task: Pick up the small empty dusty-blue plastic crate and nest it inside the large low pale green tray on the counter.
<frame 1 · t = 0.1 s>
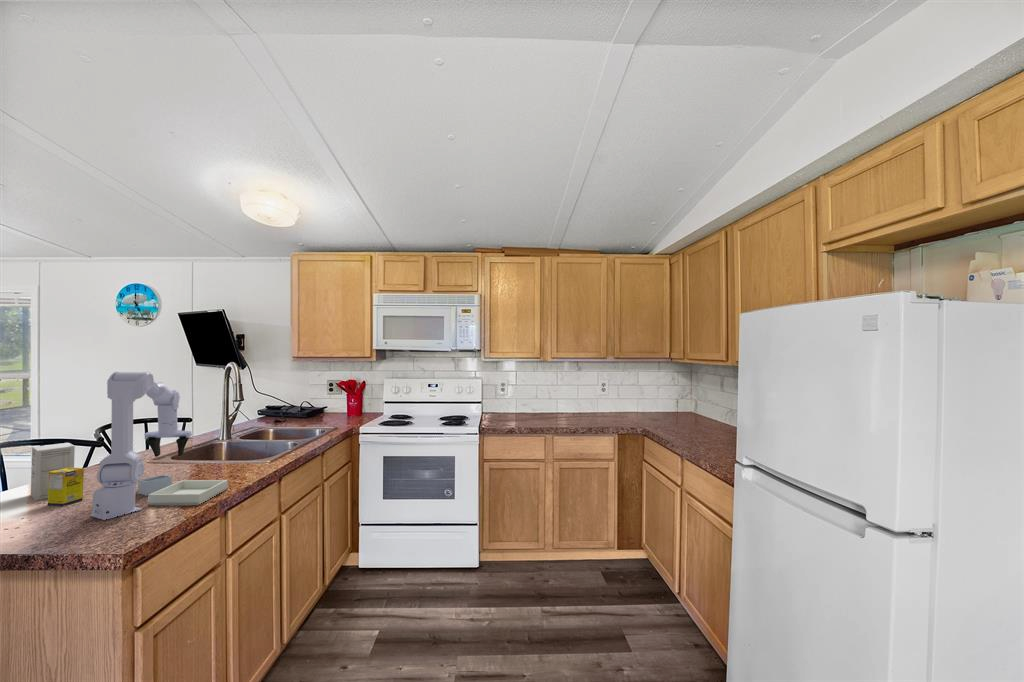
hand: (169, 455, 164), 10 cm above the counter, tool pointing down, fingers open, 7 cm apart
pale green tray: (189, 497, 149), on the counter
small crate: (154, 492, 154), on the counter
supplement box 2: (51, 494, 150), on the counter
supplement box: (65, 503, 142), on the counter
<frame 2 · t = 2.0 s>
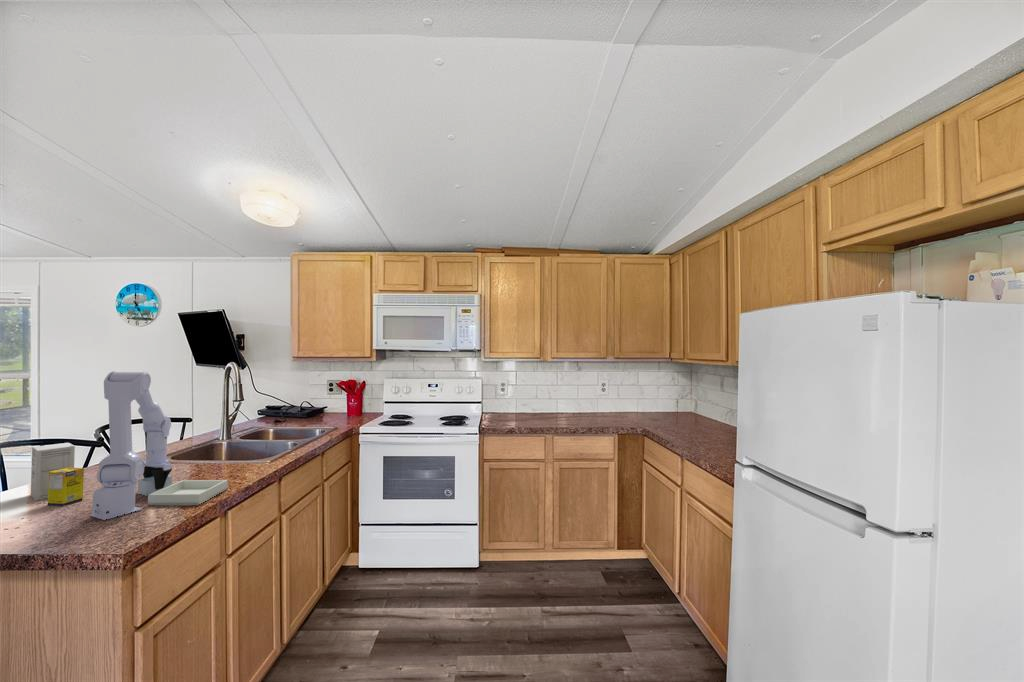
hand: (155, 487, 154), 1 cm above the counter, tool pointing down, fingers closed on small crate, 5 cm apart
small crate: (154, 491, 154), on the counter, touching gripper
everything else where it was.
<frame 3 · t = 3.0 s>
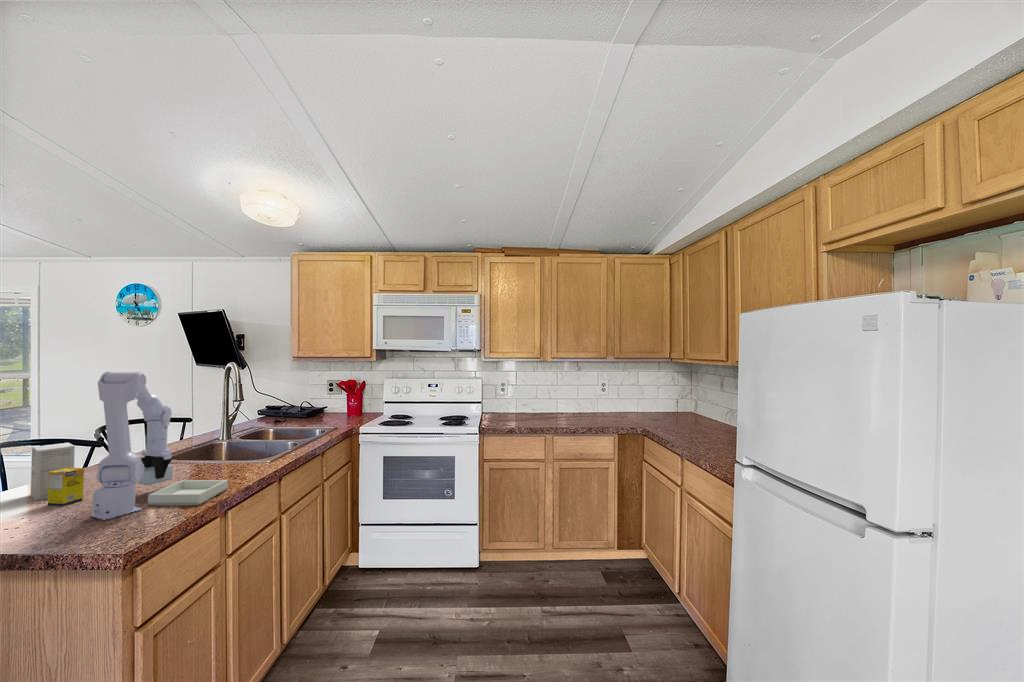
hand: (155, 477, 154), 5 cm above the counter, tool pointing down, fingers closed on small crate, 5 cm apart
small crate: (155, 481, 154), point 4 cm above the counter, touching gripper
everything else where it was.
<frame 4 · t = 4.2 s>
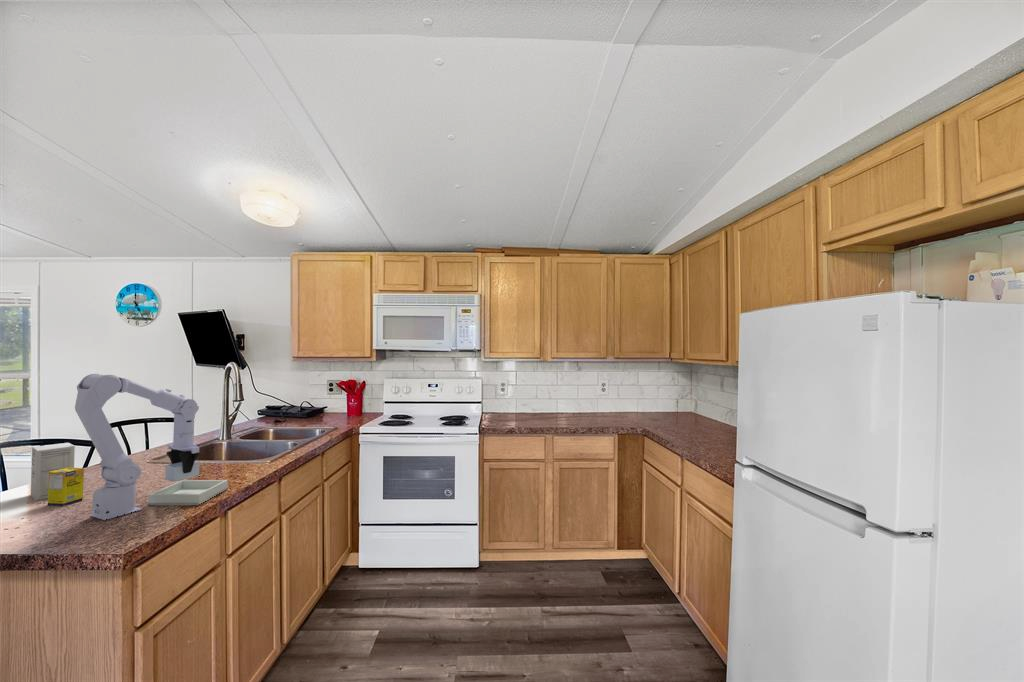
hand: (182, 471, 150), 8 cm above the counter, tool pointing down, fingers closed on small crate, 5 cm apart
small crate: (182, 477, 150), point 6 cm above the counter, touching gripper
everything else where it was.
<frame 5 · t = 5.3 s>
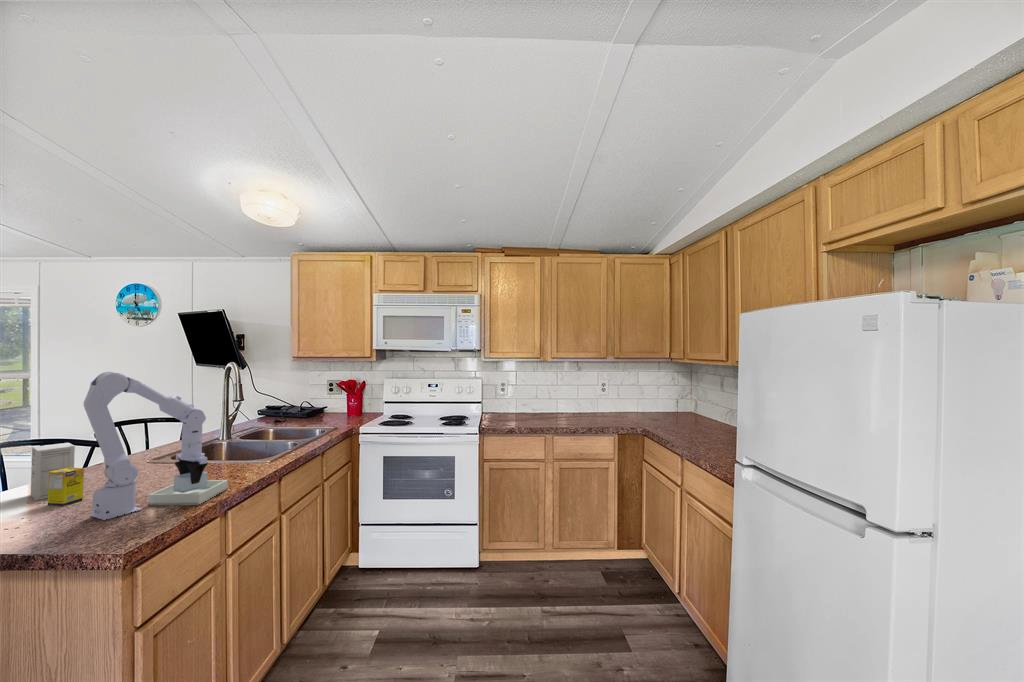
hand: (190, 482, 149), 5 cm above the counter, tool pointing down, fingers closed on small crate, 5 cm apart
small crate: (190, 488, 149), point 3 cm above the counter, touching gripper
everything else where it was.
when the fingers open (4 cm above the counter, at t = 6.2 s): small crate stays where it is, resting on pale green tray.
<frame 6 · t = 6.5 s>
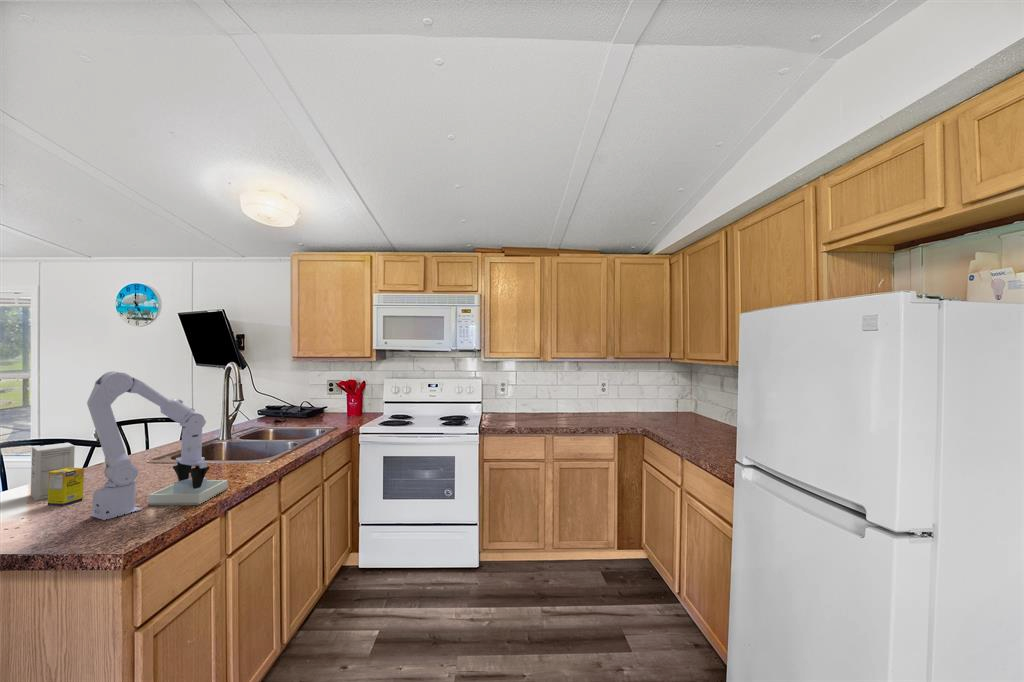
hand: (190, 486, 149), 4 cm above the counter, tool pointing down, fingers open, 7 cm apart
small crate: (190, 494, 149), point 1 cm above the counter, touching pale green tray
everything else where it was.
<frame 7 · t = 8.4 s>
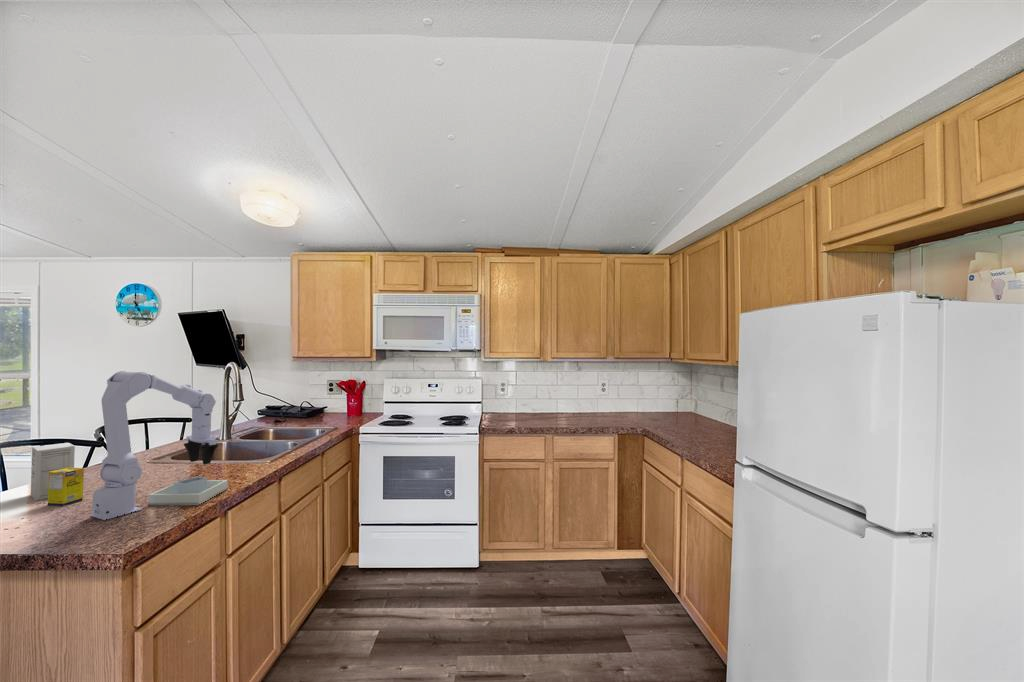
hand: (200, 462, 159), 10 cm above the counter, tool pointing down, fingers open, 7 cm apart
nothing on the counter moved.
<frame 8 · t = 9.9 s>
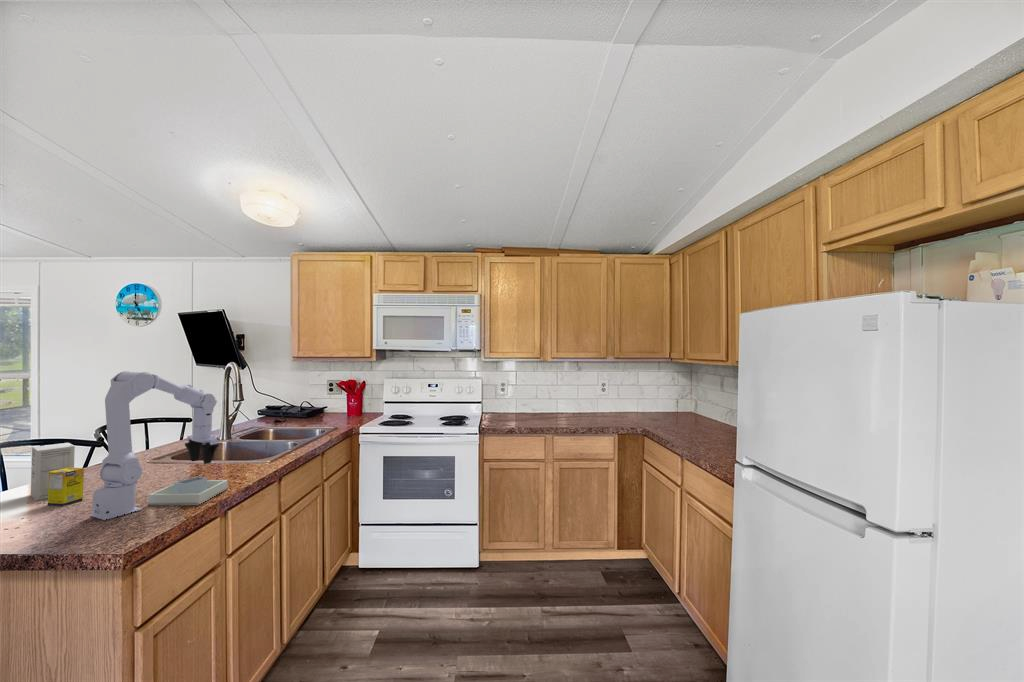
hand: (201, 462, 160), 9 cm above the counter, tool pointing down, fingers open, 7 cm apart
nothing on the counter moved.
at the end: small crate inside the target area on the pale green tray (0.1 cm from its centre), point 0.8 cm above the pale green tray's base; small crate tilted 0°; the gripper is holding nothing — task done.
